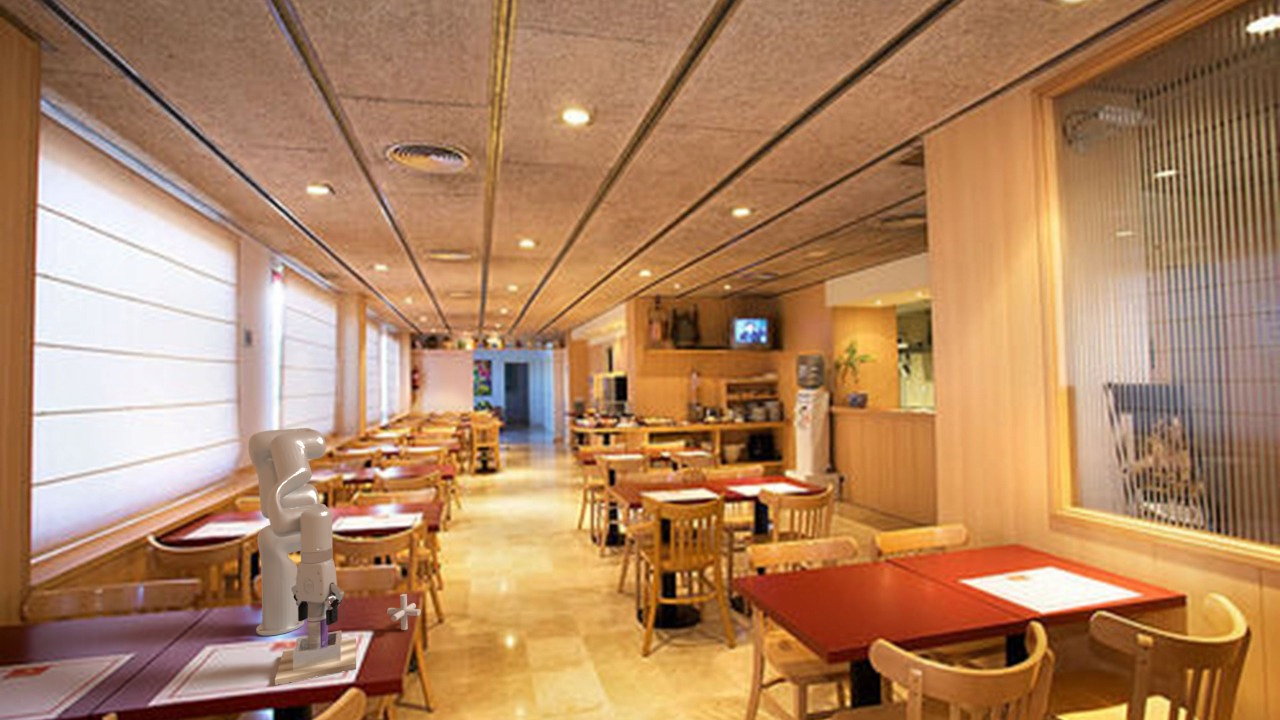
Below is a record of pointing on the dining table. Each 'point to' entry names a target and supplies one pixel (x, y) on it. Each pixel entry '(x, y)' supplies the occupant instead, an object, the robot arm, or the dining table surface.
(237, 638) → the dining table surface
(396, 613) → the pipe connector
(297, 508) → the robot arm
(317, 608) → the container
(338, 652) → the duct collar
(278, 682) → the birch board
